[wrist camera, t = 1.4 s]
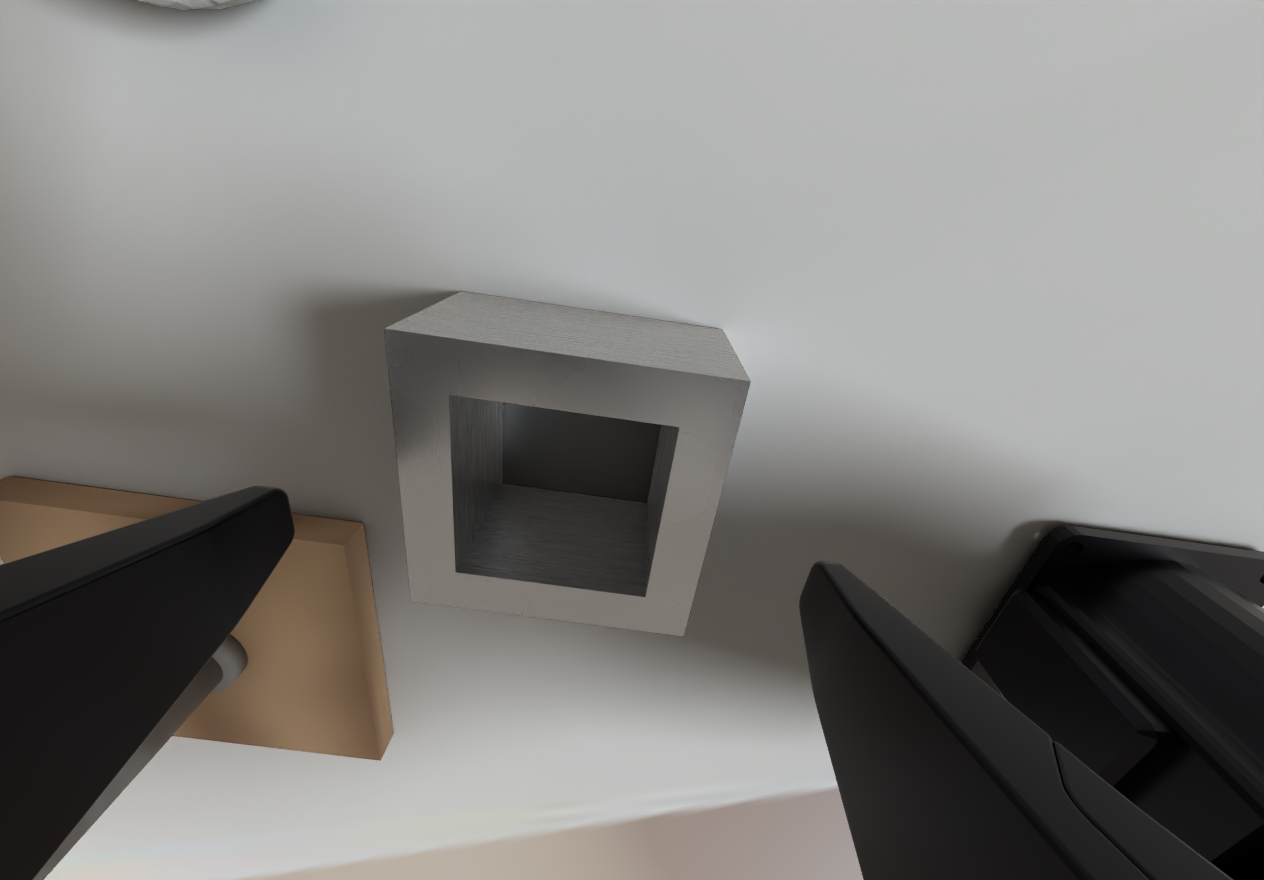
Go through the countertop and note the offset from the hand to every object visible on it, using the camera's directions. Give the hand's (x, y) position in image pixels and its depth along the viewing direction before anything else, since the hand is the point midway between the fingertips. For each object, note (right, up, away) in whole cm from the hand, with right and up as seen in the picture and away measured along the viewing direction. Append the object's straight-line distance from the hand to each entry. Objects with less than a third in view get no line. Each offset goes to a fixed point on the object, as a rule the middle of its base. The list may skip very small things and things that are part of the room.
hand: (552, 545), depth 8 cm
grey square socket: (0, +2, +4) cm, 5 cm away
